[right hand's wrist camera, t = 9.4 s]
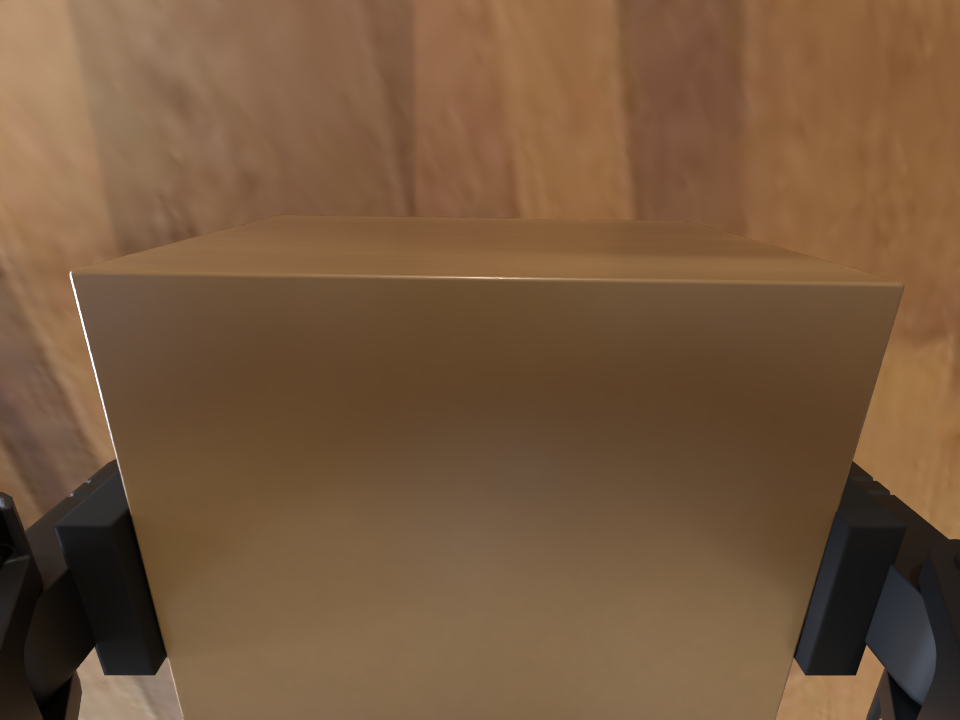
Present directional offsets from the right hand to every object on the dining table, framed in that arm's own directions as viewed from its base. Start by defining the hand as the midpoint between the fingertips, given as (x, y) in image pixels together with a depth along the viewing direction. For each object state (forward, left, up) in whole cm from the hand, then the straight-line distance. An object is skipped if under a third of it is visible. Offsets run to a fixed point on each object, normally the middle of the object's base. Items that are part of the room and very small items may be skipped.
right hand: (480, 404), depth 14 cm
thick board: (+2, -24, -1) cm, 24 cm away
